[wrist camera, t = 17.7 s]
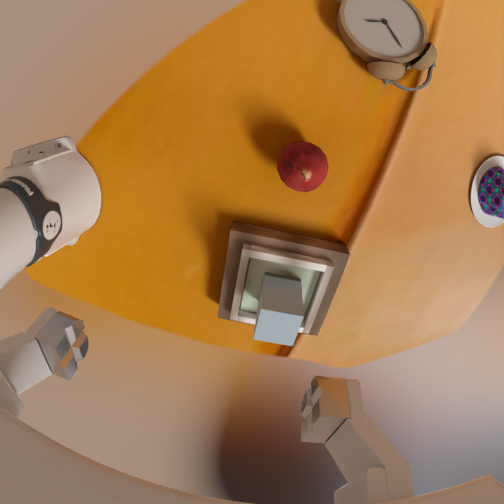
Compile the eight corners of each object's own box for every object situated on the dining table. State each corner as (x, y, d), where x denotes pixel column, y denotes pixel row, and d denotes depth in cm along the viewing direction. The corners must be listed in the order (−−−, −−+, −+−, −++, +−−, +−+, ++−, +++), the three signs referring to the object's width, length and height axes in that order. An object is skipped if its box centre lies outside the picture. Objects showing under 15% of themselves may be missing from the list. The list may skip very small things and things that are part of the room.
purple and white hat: (465, 229, 37) (482, 244, 33) (468, 155, 32) (488, 163, 27) (513, 221, 35) (530, 234, 30) (517, 154, 30) (537, 162, 25)
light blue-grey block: (258, 300, 42) (253, 339, 35) (265, 271, 40) (261, 308, 33) (291, 306, 42) (292, 346, 35) (301, 278, 40) (303, 316, 33)
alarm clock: (393, -24, 20) (461, 73, 22) (385, -8, 24) (445, 80, 27) (319, -4, 23) (390, 99, 26) (318, 13, 28) (380, 106, 31)
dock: (220, 305, 47) (215, 323, 44) (233, 221, 40) (228, 234, 36) (315, 323, 47) (317, 342, 44) (345, 244, 40) (351, 260, 36)
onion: (269, 169, 37) (266, 185, 29) (291, 130, 34) (293, 136, 27) (309, 190, 37) (315, 211, 30) (331, 152, 35) (344, 165, 28)
